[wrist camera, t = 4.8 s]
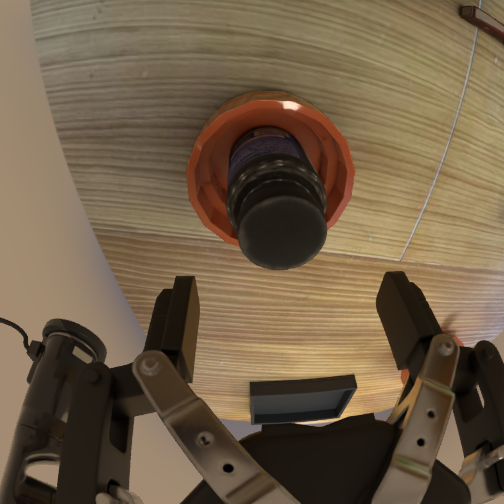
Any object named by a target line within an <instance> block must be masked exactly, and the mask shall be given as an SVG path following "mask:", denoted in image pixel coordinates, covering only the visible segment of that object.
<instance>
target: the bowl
mask: <svg viewBox="0 0 504 504" xmlns="http://www.w3.org/2000/svg"><path fill="white" fill-rule="evenodd" d="M263 126H274V127H278V128H281V129H284V130H286V131H288V132H290V133H291V134H292V135H293V136H294V137H295V138H296V139H297V140H298V141H299V142H300V144H301V146H302V147H303V149H304V151H305V152H306V154H307V156H308V158H309V159H310V161H311V163H312V165H313V167H314V168H315V170H316V172H317V174H318V175H319V177H320V179H321V180H322V183H323V185H324V188H325V191H326V197H327V206H326V212H325V215H324V217H325V219H326V223H327V230H328V229H329V228H330V227H332V226H333V225H334V224H335V223H336V222H337V220H338V219H339V217H340V215H341V214H342V212H343V210H344V209H345V207H346V206H347V204H348V202H349V201H350V199H351V194H352V188H353V181H354V175H355V167H354V164H353V160H352V156H351V153H350V149H349V146H348V142H347V141H346V139H345V138H344V136H343V135H342V134H341V133H340V132H339V130H338V129H337V128H336V127H335V126H334V125H333V123H332V122H331V121H330V120H329V119H328V118H327V117H326V116H325V115H324V114H323V113H322V112H321V111H320V110H318V109H317V108H316V107H315V106H314V105H313V104H311V103H310V102H308V101H305V100H303V99H301V98H299V97H297V96H294V95H292V94H290V93H287V92H285V91H251V92H248V93H246V94H243V95H241V96H238V97H236V98H233V99H231V100H229V101H226V102H225V103H223V104H222V105H221V106H220V107H219V108H218V110H217V111H216V112H215V113H214V114H213V115H212V116H211V117H210V118H209V119H208V120H207V121H206V122H205V123H204V125H203V127H202V129H201V131H200V133H199V135H198V137H197V139H196V142H195V145H194V148H193V151H192V153H191V156H190V159H189V162H188V165H187V168H186V177H187V186H188V195H189V201H190V202H191V204H192V206H193V208H194V209H195V211H196V213H197V214H198V216H199V218H200V219H201V221H202V223H203V224H204V225H205V226H206V227H207V228H208V229H210V230H211V231H212V232H214V233H215V234H216V235H217V236H219V237H220V238H221V239H223V240H224V241H225V242H227V243H229V244H232V245H235V246H239V242H238V235H237V232H236V231H235V230H234V228H233V227H232V225H231V223H230V222H229V219H228V215H227V211H226V193H227V180H228V168H229V156H230V152H231V149H232V147H233V145H234V144H235V142H236V141H237V140H238V139H239V138H240V137H241V136H242V135H243V134H244V133H246V132H248V131H249V130H251V129H253V128H256V127H263ZM239 247H240V246H239Z"/></svg>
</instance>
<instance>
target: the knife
mask: <svg viewBox="0 0 504 504" xmlns="http://www.w3.org/2000/svg"><path fill="white" fill-rule="evenodd" d="M461 16H462V18H463V19H465V20H467V21H468V22H470V23H472V24H474V25H476V26H478V27H480V28H481V29H483V30H485V31H486V32H488V33H489V34H491V35H492V36H494V37H496V38H498V39H499V40H500V41H501V42H503V43H504V25H503V24H502V23H500V22H499V21H497V20H496V19H494V18H493V17H491V16H490V15H489V14H487V13H486V12H484V11H483V10H481V9H479V8H478V7H476V6H464V7H462V14H461Z"/></svg>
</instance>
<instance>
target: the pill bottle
mask: <svg viewBox="0 0 504 504" xmlns="http://www.w3.org/2000/svg"><path fill="white" fill-rule="evenodd" d="M326 206H327V197H326V191H325V188H324V185H323V183H322V180H321V179H320V177H319V175H318V174H317V172H316V170H315V168H314V167H313V165H312V163H311V161H310V159H309V158H308V156H307V154H306V152H305V151H304V149H303V147H302V146H301V144H300V142H299V141H298V140H297V139H296V138H295V137H294V136H293V135H292V134H291V133H290V132H288V131H286V130H284V129H281V128H278V127H274V126H263V127H256V128H253V129H251V130H249V131H248V132H246V133H244V134H243V135H242V136H241V137H240V138H239V139H238V140H237V141H236V142H235V144H234V145H233V147H232V149H231V152H230V156H229V168H228V180H227V193H226V211H227V215H228V219H229V222H230V223H231V225H232V227H233V228H234V230H235V231H236V232H237V235H238V242H239V246H240V248H241V250H242V252H243V253H244V255H245V256H246V257H247V258H248V259H249V260H250V261H251V262H253V263H254V264H256V265H258V266H261V267H263V268H267V269H271V270H288V269H291V268H295V267H299V266H301V265H303V264H306V263H307V262H309V261H310V260H311V259H313V258H314V257H315V256H316V255H317V254H318V252H319V251H320V250H321V248H322V247H323V245H324V243H325V239H326V236H327V223H326V219H325V217H324V215H325V212H326Z"/></svg>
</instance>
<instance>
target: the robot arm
mask: <svg viewBox="0 0 504 504" xmlns="http://www.w3.org/2000/svg"><path fill="white" fill-rule="evenodd" d="M376 308H377V312H378V314H379V317H380V320H381V322H382V325H383V328H384V330H385V333H386V336H387V338H388V341H389V344H390V347H391V350H392V353H393V355H394V358H395V361H396V364H397V367H398V370H404V369H408V371H409V374H408V376H407V378H406V380H405V383H404V385H403V388H402V390H401V393H400V395H399V397H398V400H397V402H396V404H395V407H394V409H393V411H392V413H391V414H390V416H389V417H388V419H387V421H386V422H385V421H382V420H376V419H375V417H374V413H369V414H363V415H357V416H350V417H346V418H344V419H341V420H339V421H336V422H334V423H331V424H329V425H326V426H323V427H315V426H308V425H301V424H295V423H282V424H262V430H261V431H259V432H255V433H253V434H250V435H248V436H246V437H244V438H242V439H241V440H239V441H237V440H236V439H235V438H234V437H233V435H232V434H231V433H230V432H229V431H228V430H227V428H226V427H225V426H224V425H223V424H222V422H221V421H220V420H219V419H218V418H217V416H216V415H215V414H214V413H213V412H212V410H211V409H210V408H209V407H208V405H207V404H206V403H205V402H204V401H203V400H202V399H201V398H200V397H197V396H196V394H195V393H194V392H193V391H192V389H191V388H190V387H189V385H188V384H187V383H192V381H193V371H194V361H195V352H196V343H197V334H198V325H199V317H200V304H199V297H198V292H197V286H196V280H195V276H176V278H175V282H174V286H173V289H163V291H162V292H161V293H160V294H159V296H158V297H157V299H156V302H155V306H154V310H153V314H152V319H151V322H150V326H149V330H148V334H147V338H146V343H145V347H144V350H143V352H142V353H141V354H140V355H138V356H137V357H136V359H135V360H134V362H132V363H130V364H127V365H124V366H119V367H114V368H108V367H107V366H106V365H105V364H104V363H101V362H97V360H98V354H97V352H96V351H95V349H94V348H93V347H92V346H91V345H90V344H89V343H88V342H86V341H85V340H84V339H82V338H80V337H79V336H77V335H74V334H72V333H69V332H66V331H60V330H57V331H52V332H51V333H50V334H49V335H48V334H45V336H44V338H43V340H42V342H39V341H33V340H32V342H31V344H30V346H29V345H28V336H27V334H26V333H25V332H24V330H23V329H22V328H20V327H19V326H18V325H16V324H15V323H13V322H11V321H8V320H6V319H3V318H0V322H1V323H4V324H6V325H9V326H12V327H13V328H15V329H16V330H18V331H19V332H20V333H21V334H22V336H23V337H24V341H23V343H24V347H25V348H26V349H27V354H28V356H29V357H30V358H31V359H32V361H33V364H32V367H31V369H30V372H29V374H28V377H27V382H28V383H29V388H28V391H27V393H26V396H25V399H24V402H23V405H22V409H21V412H20V415H19V418H18V421H17V425H16V428H15V432H14V436H13V440H12V444H11V448H10V453H9V456H8V460H7V463H6V466H5V470H4V473H3V477H2V481H1V485H0V504H143V502H142V500H141V499H140V498H139V497H138V496H137V495H136V494H134V493H132V492H130V491H129V475H130V460H131V446H132V435H133V425H134V416H139V415H144V414H148V413H153V412H157V413H158V415H159V417H160V418H161V420H162V422H163V423H164V425H165V426H166V428H167V429H168V430H169V432H170V433H171V435H172V436H173V438H174V439H175V441H176V442H177V443H178V445H179V446H180V447H181V449H182V450H183V452H184V453H185V454H186V456H187V457H188V459H189V460H190V461H191V463H192V464H193V465H194V466H195V468H196V469H197V470H198V472H199V473H200V474H201V475H202V477H203V478H204V479H203V480H202V481H201V482H200V483H199V484H198V485H197V486H196V487H195V488H194V490H193V491H192V492H191V493H190V494H189V495H188V496H187V497H186V498H185V499H184V500H183V501H182V502H181V503H180V504H483V503H486V502H488V501H491V500H494V499H496V498H499V497H501V496H504V363H503V361H502V359H501V356H500V354H499V352H498V350H497V348H496V347H495V346H494V345H493V344H492V343H491V342H489V341H486V340H482V341H479V342H478V343H477V344H476V345H475V347H474V348H471V347H464V346H459V345H458V343H457V342H456V340H455V339H454V338H452V337H451V336H449V335H446V334H443V332H442V330H441V328H440V326H439V324H438V322H437V320H436V318H435V316H434V314H433V312H432V310H431V308H430V306H429V304H428V302H427V301H426V298H425V296H424V294H423V293H422V291H421V289H420V288H419V287H417V286H416V285H415V284H414V283H413V282H409V280H408V278H407V276H406V275H405V273H404V272H403V271H392V272H386V273H385V275H384V278H383V281H382V283H381V286H380V289H379V292H378V295H377V298H376ZM478 385H479V387H480V390H481V393H482V396H483V399H484V408H483V406H482V403H481V400H480V397H479V394H478V391H477V388H476V387H477V386H478ZM452 409H453V413H454V416H455V420H456V424H457V428H458V432H459V436H460V440H461V445H462V449H463V453H464V458H465V459H464V461H463V463H462V468H461V469H460V471H459V476H458V475H456V474H455V473H454V472H453V471H451V470H450V469H449V468H448V467H446V466H445V465H444V464H442V463H441V462H440V461H439V460H437V459H436V456H437V454H438V451H439V448H440V445H441V442H442V440H443V437H444V434H445V430H446V427H447V424H448V421H449V418H450V414H451V411H452ZM43 464H44V465H57V466H59V474H58V483H57V487H55V486H53V485H50V484H48V483H46V482H43V481H41V480H38V479H36V478H34V477H32V476H29V475H27V473H26V471H27V469H28V468H29V467H31V466H35V465H43Z"/></svg>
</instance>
